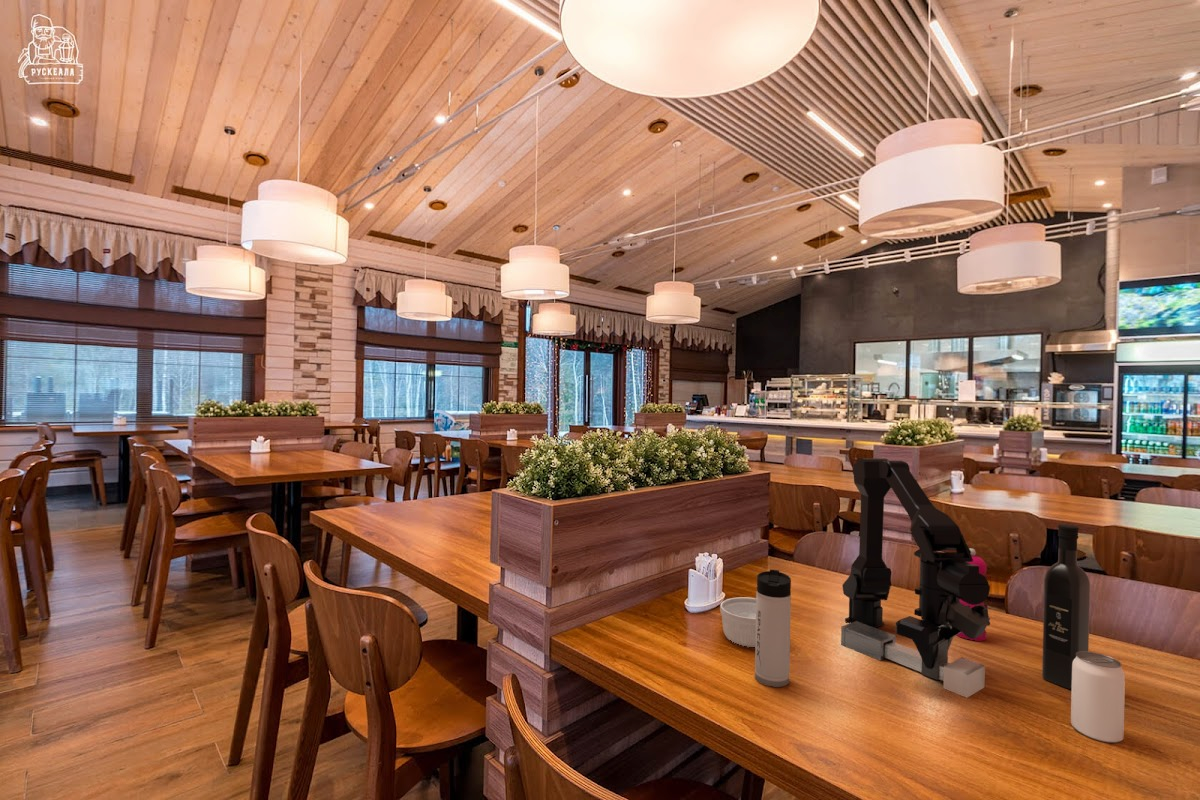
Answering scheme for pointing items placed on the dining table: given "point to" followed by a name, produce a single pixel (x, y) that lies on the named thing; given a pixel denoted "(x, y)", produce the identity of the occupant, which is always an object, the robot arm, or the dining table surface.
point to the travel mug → (773, 628)
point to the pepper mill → (982, 570)
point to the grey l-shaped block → (918, 658)
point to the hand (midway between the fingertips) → (934, 665)
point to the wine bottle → (1065, 611)
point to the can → (1098, 697)
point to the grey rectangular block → (964, 677)
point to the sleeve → (865, 639)
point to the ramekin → (739, 620)
